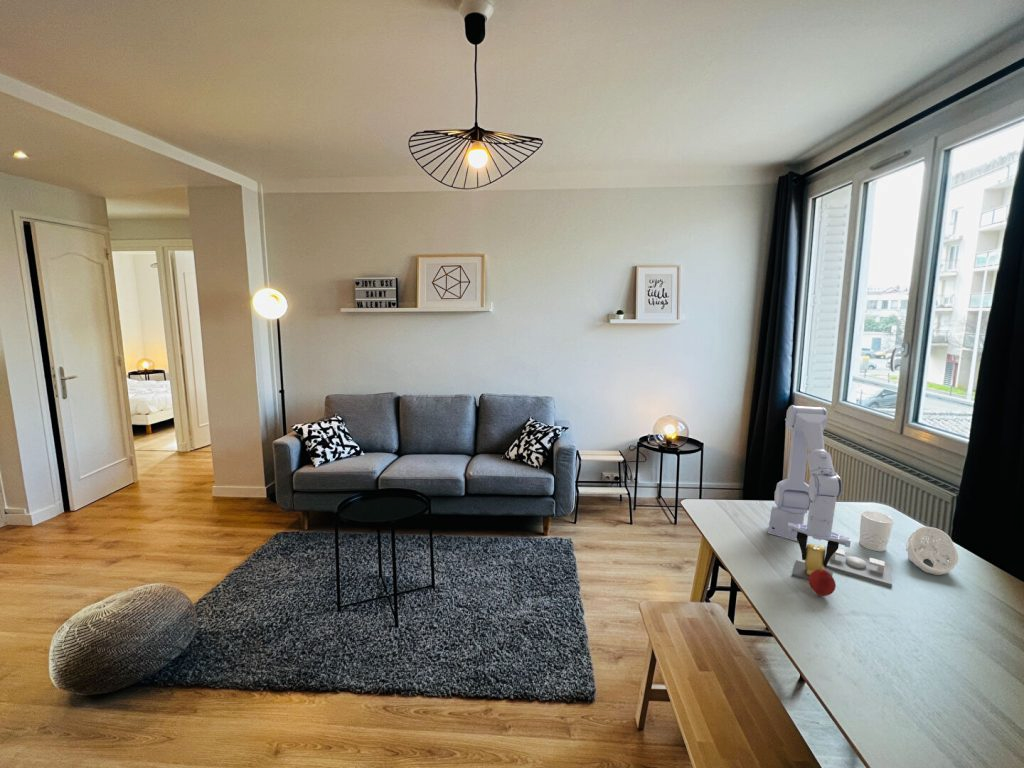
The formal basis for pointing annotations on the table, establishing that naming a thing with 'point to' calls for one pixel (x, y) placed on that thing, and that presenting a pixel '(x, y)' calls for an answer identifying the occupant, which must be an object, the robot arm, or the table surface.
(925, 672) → the table surface
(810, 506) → the robot arm
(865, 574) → the post base
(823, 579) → the onion
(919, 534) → the skull bowl
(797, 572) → the mat
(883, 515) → the white cup
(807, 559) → the yellow rounded piece
